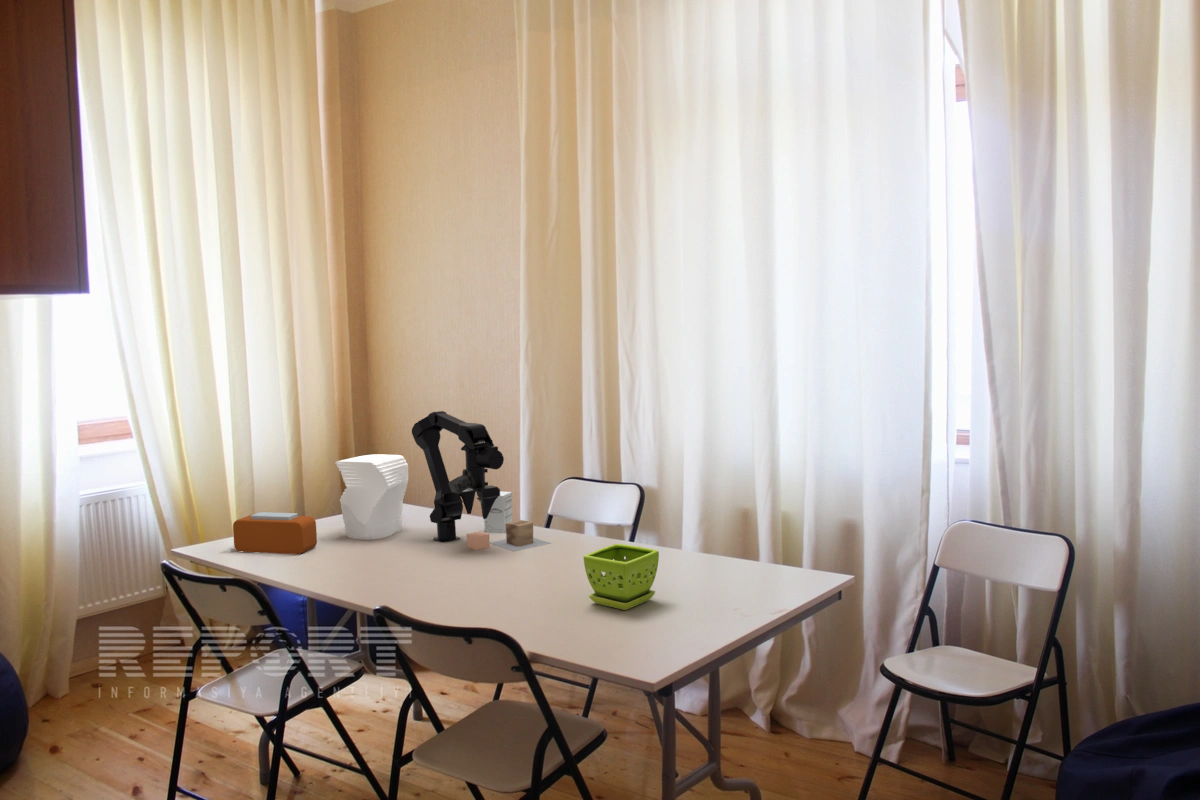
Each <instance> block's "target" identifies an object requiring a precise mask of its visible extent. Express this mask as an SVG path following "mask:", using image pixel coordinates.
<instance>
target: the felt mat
mask: <svg viewBox="0 0 1200 800" xmlns="http://www.w3.org/2000/svg"><path fill="white" fill-rule="evenodd" d="M489 543H490V545H493V546H496V547H498V548H501V549H505V550H507V551H511V552H518V551H522V550H523V551H524V550H527V549H533V548H536V547H541V546H544V545H545V546H546V545H549V544H552V543H551V542H549V541H546V540H542V539H539V538H535V537H533V543H532V544H527V545H522V546H518V547H517V546H514V545H511V544H508V543H507V540H506V539H501V540H497V541H491V542H489Z"/></svg>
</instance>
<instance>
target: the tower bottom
mask: <svg viewBox="0 0 1200 800" xmlns="http://www.w3.org/2000/svg"><path fill="white" fill-rule="evenodd" d="M505 535H506V538H505V540H507V543H508V544H511V545H514V546H517V547H518V546H522V545H527V544H532V543H533V538H534V532H533V533H530V534H526V535H522V536H515V535H511V534H506V533H505Z"/></svg>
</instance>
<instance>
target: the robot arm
mask: <svg viewBox="0 0 1200 800" xmlns="http://www.w3.org/2000/svg"><path fill="white" fill-rule="evenodd" d="M443 430H446V431H447V432H450V433H452V434H454V435H456V436H457V437H458V440H459V441H460V442H462V443H463V444H464V445H462V447H460V451H464V453H465V468H463V469H462V473H461V475H460V476H457V477H455V478H454V479H452V480H449V476H448V473H447V470H446V465H445V463H444V460H443V456H442V452H441V451H440V450H441V449H440V447H439V446H440V445H439V444H440V440H441V431H443ZM411 435H412V437H413V440H414V442H415V443H416V445H417V447H419V448H420V449H421V450H422V451H423V453H424V457H425V460H426V463H427V467H428V470H429V473H430V477H431V480H432V483H433V486H434V490H435V496H434V498H433V499H434V500H433V505H434V508H433V510H432V511H431V513H430V514H429V519H430V520H429V521H430V522H431V523H434V524H436V534H437V536H436V537H433V538H432V539H433V541H434V540H435V541H437V542H440V543H447V542H453V541H459V540H461V537H459V536H457V531H456V529H457V528H456V521H457V520H458V521H459V520H461V519H462V516H463V515H462V514H463V509H464V508H465V511H466V514H468V515H471V514H472V510H473V507H474V502H475V497H476V495H477V497H476V499H477V500H478V501H479V502H480V507H481V508H480V509H481V514H482V519H483V520H484V519H486V518H487V517H488V514H489V512H490V510H491V508H492V505H493V504H494V502H495V500H496V498H498V496H500V491H501V489H500V488H499V487H498V486H496V485H489V482H488V481H486V473H488V471H489V470H488V469H490V470H491V469H492V470H499V469H500V468H501V467H502V466H503V464H504V459H505V458H504V455H503V453H502V452H501V451H500V450H499V447H498V446H497V445H494V443H493V440H492V438H491V436H490V434H489V431H488V430H487V428H486V426H485V425H484V424H482V423H476V422H475V423H474V422H466V421H464V420H461V419H459V418H457V417H455V416H453V415H450V414H449V413H447V412H446V411H444V410H438V411H432V412H430V413H429V414H428V415H427V416H426V417H424V418H422V419H420V420H417V422H415V423H414V424H413V426H412V428H411Z"/></svg>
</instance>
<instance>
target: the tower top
mask: <svg viewBox="0 0 1200 800" xmlns="http://www.w3.org/2000/svg"><path fill="white" fill-rule="evenodd" d="M530 533H533V534H534V522H532V521H528V520H523V519H518V520H514V521H513V520H512V522H509V523H506V532H505V535H506V534H511V535H515V536H522V535H526V534H530Z"/></svg>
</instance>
